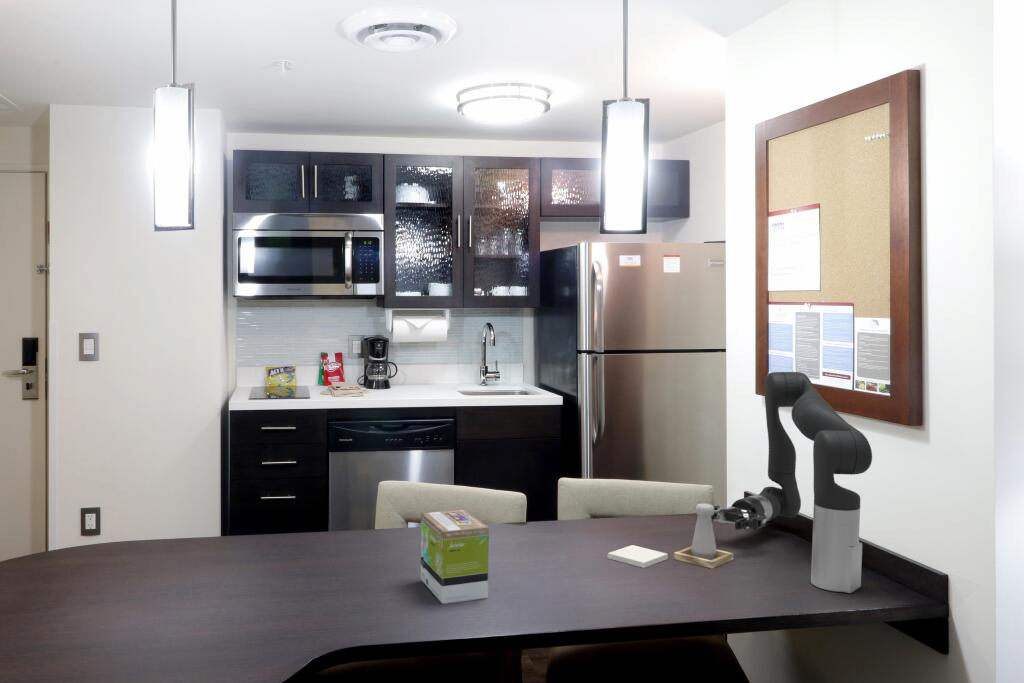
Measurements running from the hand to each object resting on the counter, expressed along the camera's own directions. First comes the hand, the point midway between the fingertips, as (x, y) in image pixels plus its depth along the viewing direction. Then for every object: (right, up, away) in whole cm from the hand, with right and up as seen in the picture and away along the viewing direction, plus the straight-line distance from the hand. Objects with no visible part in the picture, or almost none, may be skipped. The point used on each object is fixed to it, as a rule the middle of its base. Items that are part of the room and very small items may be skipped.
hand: (720, 522), depth 196 cm
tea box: (-62, -7, -30) cm, 70 cm away
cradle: (-5, -8, -5) cm, 11 cm away
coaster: (-21, -7, -6) cm, 23 cm away
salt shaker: (-5, -8, -5) cm, 11 cm away
